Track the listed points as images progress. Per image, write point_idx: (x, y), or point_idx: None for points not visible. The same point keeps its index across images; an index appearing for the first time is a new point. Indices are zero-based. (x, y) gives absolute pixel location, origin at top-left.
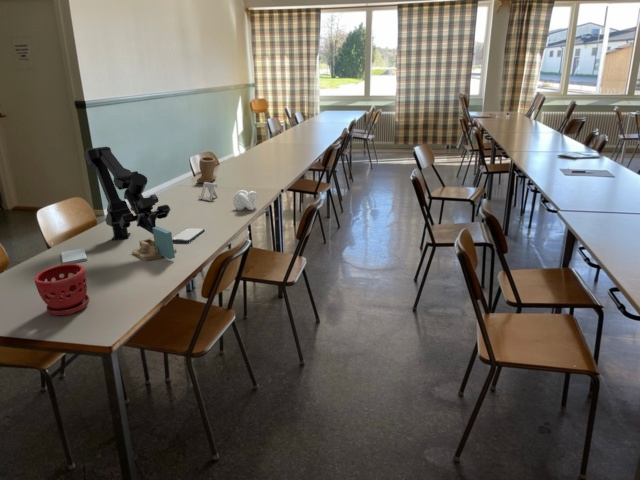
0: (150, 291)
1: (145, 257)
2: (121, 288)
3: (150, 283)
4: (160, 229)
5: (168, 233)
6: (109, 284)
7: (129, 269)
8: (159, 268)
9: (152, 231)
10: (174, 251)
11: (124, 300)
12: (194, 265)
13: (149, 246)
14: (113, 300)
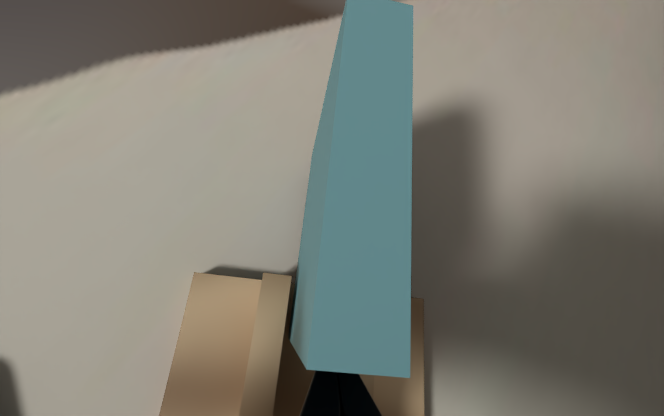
0: (544, 30)
1: (420, 333)
2: (617, 130)
3: (520, 73)
4: (378, 165)
5: (382, 9)
6: (649, 203)
7: (537, 281)
8: (423, 155)
9: (369, 406)
10: (214, 276)
11: (627, 52)
12: (296, 44)
13: (371, 391)
14: (656, 80)
